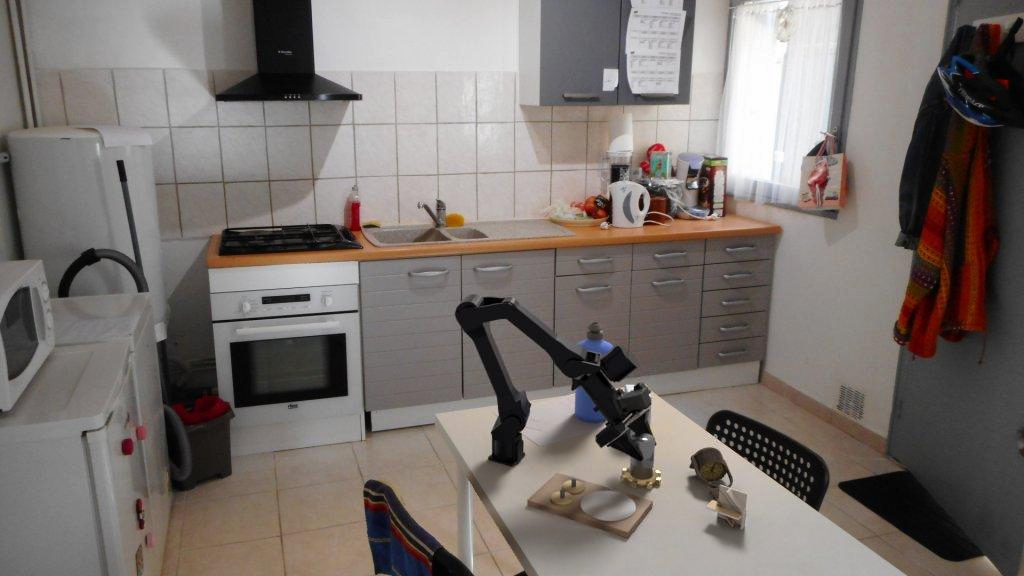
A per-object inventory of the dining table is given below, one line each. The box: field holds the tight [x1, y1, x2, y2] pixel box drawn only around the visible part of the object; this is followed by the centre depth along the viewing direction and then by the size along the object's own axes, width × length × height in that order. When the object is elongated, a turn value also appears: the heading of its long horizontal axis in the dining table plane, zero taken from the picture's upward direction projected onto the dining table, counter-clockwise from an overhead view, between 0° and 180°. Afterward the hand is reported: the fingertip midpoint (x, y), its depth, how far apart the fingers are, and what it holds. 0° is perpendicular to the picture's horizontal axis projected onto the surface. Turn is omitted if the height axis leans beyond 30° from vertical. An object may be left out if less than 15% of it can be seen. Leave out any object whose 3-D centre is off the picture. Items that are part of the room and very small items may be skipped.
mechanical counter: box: [688, 446, 734, 500], centre depth 161 cm, size 7×13×10 cm
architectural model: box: [705, 484, 748, 531], centre depth 147 cm, size 3×7×7 cm, turn 52°
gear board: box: [526, 472, 654, 539], centre depth 153 cm, size 22×13×3 cm, turn 59°
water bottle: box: [574, 321, 614, 424], centre depth 192 cm, size 9×9×25 cm
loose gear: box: [621, 433, 662, 490], centre depth 163 cm, size 9×9×10 cm
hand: (648, 453), depth 162 cm, fingers open, 7 cm apart
